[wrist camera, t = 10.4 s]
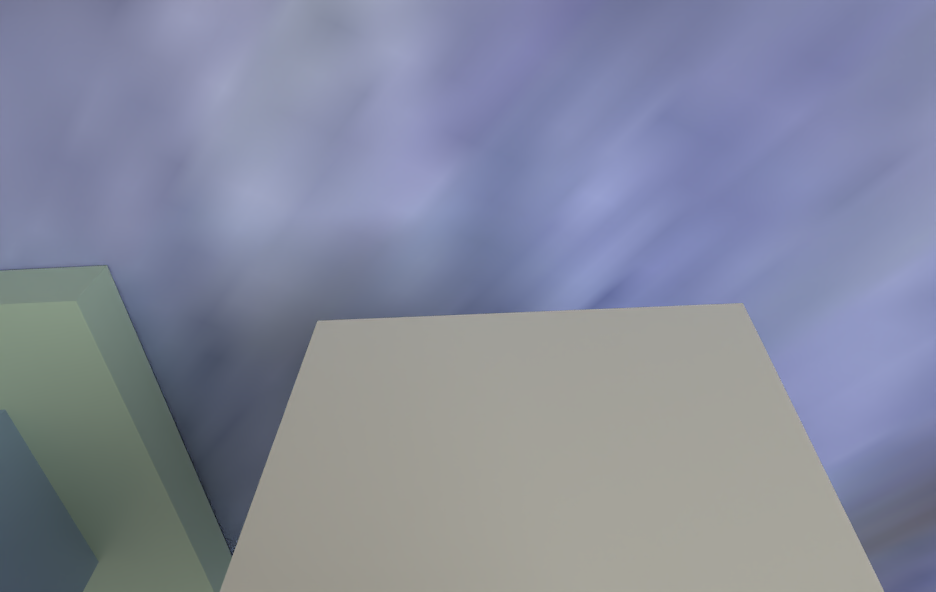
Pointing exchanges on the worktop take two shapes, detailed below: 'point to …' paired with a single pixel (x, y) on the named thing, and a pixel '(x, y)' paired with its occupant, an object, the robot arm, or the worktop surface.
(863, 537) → the worktop surface
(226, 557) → the green block
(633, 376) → the cream block
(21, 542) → the blue block
